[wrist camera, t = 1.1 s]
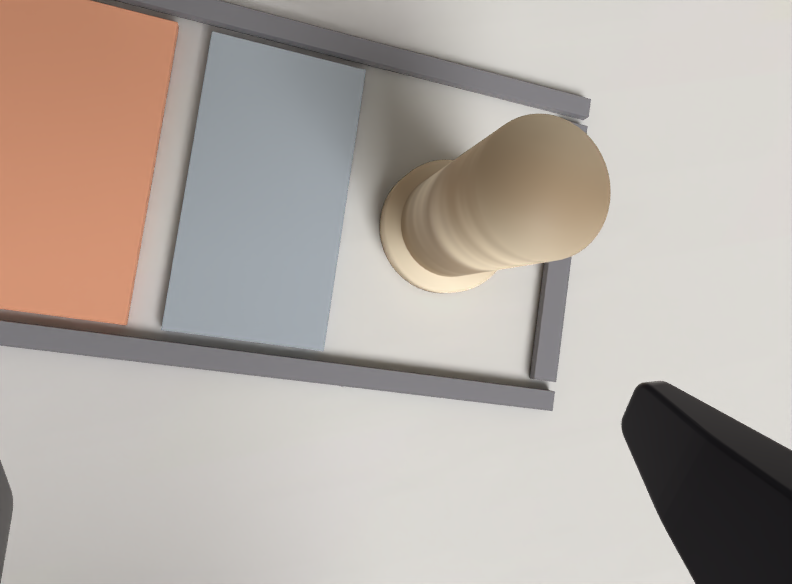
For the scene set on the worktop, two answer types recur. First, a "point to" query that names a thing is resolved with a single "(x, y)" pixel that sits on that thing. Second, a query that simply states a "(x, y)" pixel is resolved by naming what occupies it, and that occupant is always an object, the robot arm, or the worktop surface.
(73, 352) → the game track
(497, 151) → the birch pawn
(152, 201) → the worktop surface
